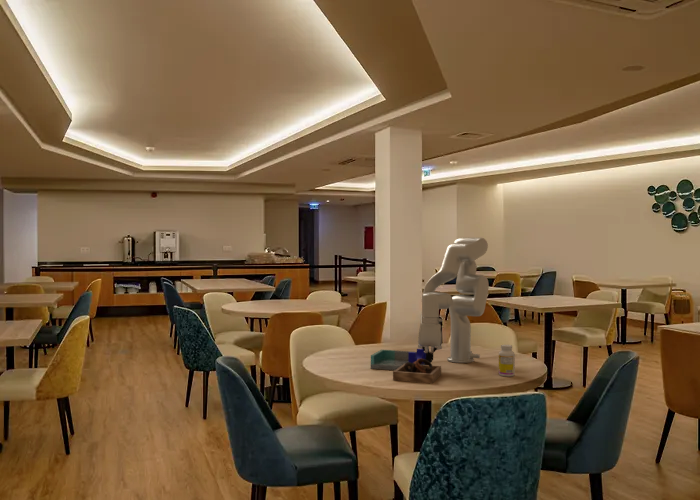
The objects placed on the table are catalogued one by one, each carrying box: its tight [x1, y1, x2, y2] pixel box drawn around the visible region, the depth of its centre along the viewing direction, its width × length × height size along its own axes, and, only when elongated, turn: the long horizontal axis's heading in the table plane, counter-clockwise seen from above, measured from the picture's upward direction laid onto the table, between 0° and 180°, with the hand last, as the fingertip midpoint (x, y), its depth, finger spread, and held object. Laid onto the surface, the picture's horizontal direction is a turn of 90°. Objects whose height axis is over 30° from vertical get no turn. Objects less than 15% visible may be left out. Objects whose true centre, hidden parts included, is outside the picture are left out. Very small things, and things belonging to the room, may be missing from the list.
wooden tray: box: [392, 364, 442, 384], centre depth 257 cm, size 16×18×4 cm
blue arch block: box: [408, 348, 425, 363], centre depth 276 cm, size 12×4×6 cm, turn 153°
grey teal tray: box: [370, 349, 432, 371], centre depth 279 cm, size 24×17×6 cm
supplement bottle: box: [498, 344, 516, 378], centre depth 262 cm, size 7×7×13 cm
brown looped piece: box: [404, 359, 434, 374], centre depth 260 cm, size 12×10×8 cm
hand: (429, 361), depth 274 cm, fingers closed
